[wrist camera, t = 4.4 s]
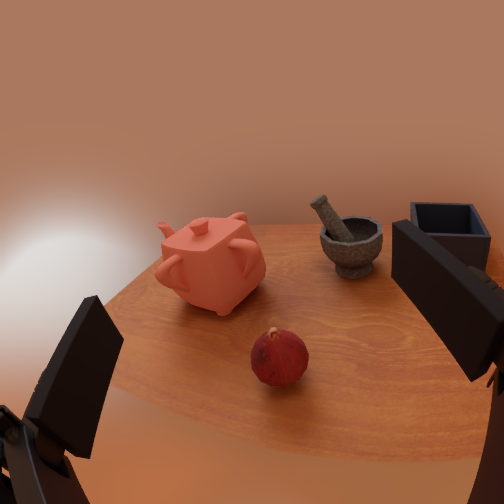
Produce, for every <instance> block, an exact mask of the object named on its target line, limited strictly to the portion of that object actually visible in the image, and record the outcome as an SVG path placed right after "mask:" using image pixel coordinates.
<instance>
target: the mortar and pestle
mask: <svg viewBox="0 0 504 504" xmlns="http://www.w3.org/2000/svg"><path fill="white" fill-rule="evenodd" d="M310 206H311V207H312V208H313V209H315V210H316V212H317V214H318V215H319V217H320V219H321V221H322V222H323V224H324V226H323V227H322V230H321V233H320V240H321V245H322V248H323V251H324V252H325V254H326V255H327V256H328V258H329V259H330V260H332V261H333V262H334V263H335V264H336V272H337V273H338V274H339V275H340V276H341V277H344V278H349V279H356V278H361V277H365V276H366V275H368V274H369V273H370V272H371V271H372V261H373V260H374V259H375V258H377V256H378V255H379V253H380V251H381V248H382V242H383V236H382V224H381V223H379V222H377V221H376V220H374V219H372V218H370V217H360V216H349V217H343V218H339V216H338V215H337V214H336V212H335V211H334V209H333V208H332V207H331V205H330V204H329V203H328V201H327V197H326V196H325V195H320V196H318V197H317V198H315V199H314V200H313V201H312V202H311V203H310Z"/></svg>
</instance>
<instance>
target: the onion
mask: <svg viewBox="0 0 504 504" xmlns="http://www.w3.org/2000/svg"><path fill="white" fill-rule="evenodd" d="M308 360H309V354H308V351H307V349H306V346H305V344H304V342H303V341H302V340H301V339H300V338H299V337H298V336H297V335H295V334H294V333H292V332H289V331H285V330H280V329H279V328H277V327H272V328H271V329H270V330H269V331H268V332H266V333H264V334H263V335H262V336H261V337H260V338H259V339H258V340H257V341H256V342H255V344H254V346H253V348H252V351H251V366H252V370H253V372H254V373H255V374H256V376H257V377H258V378H259V380H260V381H261V382H263V383H266V384H268V385H270V386H286V385H289V384H292V383H294V382H295V381H297V380H298V379H300V377H301V376H302V375H303V373H304V372H305V370H306V369H307V365H308Z"/></svg>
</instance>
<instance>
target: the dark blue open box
mask: <svg viewBox="0 0 504 504" xmlns="http://www.w3.org/2000/svg"><path fill="white" fill-rule="evenodd" d="M411 223H413V224H414V225H415V226H417V227H418V228H419V229H421V230H422V231H423V232H425V233H426V234H427V235H429V236H430V237H431V238H433V239H434V240H435V241H436V242H438V243H439V244H440V245H441V246H443V247H444V248H445V249H446V250H448V251H449V252H450V253H451V254H453V255H454V256H455V257H456V258H457V259H459V260H460V261H461V262H462V263H463V264H464V265H466V266H467V267H469V266H473V267H475V268H477V269H479V270H481V271H483V272H485V268H486V263H487V258H488V253H489V248H490V242H491V236H490V234H489V232H488V230H487V228H486V227H485V225H484V223H483V221H482V219H481V218H480V216H479V214H478V212H477V211H476V209H475V207H474V206H473V204H458V203H423V202H422V203H421V202H419V203H418V202H415V203H414V202H411Z"/></svg>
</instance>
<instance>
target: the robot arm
mask: <svg viewBox="0 0 504 504" xmlns="http://www.w3.org/2000/svg"><path fill="white" fill-rule="evenodd" d="M391 277H392V278H393V279H394V281H395V282H396V283H397V284H398V285H399V286H400V288H401V289H402V290H403V291H404V293H405V294H406V295H407V296H408V297H409V299H410V300H411V301H412V302H413V304H414V305H415V306H416V307H417V309H418V310H419V311H420V312H421V314H422V315H423V316H424V317H425V319H426V320H427V321H428V323H429V324H430V325H431V327H432V328H433V329H434V330H435V332H436V333H437V334H438V336H439V337H440V339H441V340H442V341H443V343H444V344H445V345H446V347H447V348H448V350H449V351H450V352H451V354H452V355H453V357H454V358H455V359H456V361H457V362H458V364H459V365H460V367H461V368H462V370H463V371H464V373H465V374H466V376H467V377H468V379H469V380H470V382H473V381H474V380H476V379H478V378H479V377H481V376H482V375H484V374H485V373H487V371H488V369H489V367H490V366H491V364H492V362H494V363H495V365H496V366H497V367H496V369H495V371H494V373H493V374H492V376H491V378H490V379H489V381H488V383H487V387H489V386H490V385H491V383H492V382H493V380H494V383H493V387H492V388H493V394H492V403H491V410H490V417H489V424H488V429H487V435H486V440H485V444H484V449H483V453H482V457H481V461H480V465H479V469H478V472H477V476H476V479H475V482H474V485H473V488H472V491H471V494H470V497H469V500H468V503H467V504H504V290H503V289H502V288H501V287H499V286H498V284H497V283H496V282H494V281H492V280H491V278H490V277H489V276H488V275H487V274H485V273H484V272H483V271H481V270H479V269H477V268H475V267H473V266H469V267H467V266H466V265H464V264H463V263H462V262H461V261H460V260H459V259H457V258H456V257H455V256H454V255H453V254H451V253H450V252H449V251H448V250H446V249H445V248H444V247H443V246H441V245H440V244H439V243H438V242H436V241H435V240H434V239H433V238H431V237H430V236H429V235H427V234H426V233H425V232H423V231H422V230H421V229H419V228H418V227H417V226H415V225H414V224H413V223H411V222H410V221H408V220H407V219H405V220H402V221H398V222H394V223H392V272H391ZM123 341H124V338H123V337H122V335H121V334H120V332H119V331H118V329H117V328H116V326H115V324H114V323H113V321H112V320H111V318H110V316H109V315H108V313H107V311H106V310H105V308H104V306H103V305H102V303H101V301H100V300H99V298H98V296H97V295H96V296H91V297H87V298H84V300H83V302H82V303H81V305H80V307H79V308H78V310H77V312H76V314H75V315H74V317H73V319H72V320H71V322H70V324H69V326H68V327H67V329H66V331H65V333H64V335H63V337H62V339H61V340H60V342H59V344H58V346H57V348H56V350H55V352H54V354H53V355H52V357H51V359H50V361H49V363H48V365H47V368H46V369H45V370H44V371H43V372H42V374H41V377H40V379H39V381H38V384H37V385H36V387H35V392H33V394H32V397H31V399H30V401H29V403H28V406H27V408H26V410H25V413H24V415H23V418H22V420H20V419H19V418H18V417H17V416H15V415H14V414H13V413H12V412H11V411H10V410H9V409H8V408H7V407H6V406H5V405H0V504H90V503H89V501H88V499H87V497H86V495H85V493H84V491H83V489H82V488H81V485H80V483H79V481H78V479H77V476H76V475H75V472H74V470H73V467H72V465H71V463H70V460H69V459H68V457H67V456H65V455H64V452H65V449H66V450H67V451H68V452H70V453H71V454H73V455H74V456H76V457H81V458H87V459H90V456H91V452H92V447H93V443H94V438H95V434H96V430H97V426H98V423H99V419H100V415H101V411H102V408H103V404H104V401H105V397H106V394H107V390H108V387H109V384H110V381H111V377H112V374H113V371H114V368H115V365H116V362H117V359H118V356H119V353H120V350H121V347H122V344H123ZM2 467H3V468H4V469H6V470H7V471H9V474H10V478H9V477H7V476H6V475H4V474H3V473H2Z"/></svg>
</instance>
